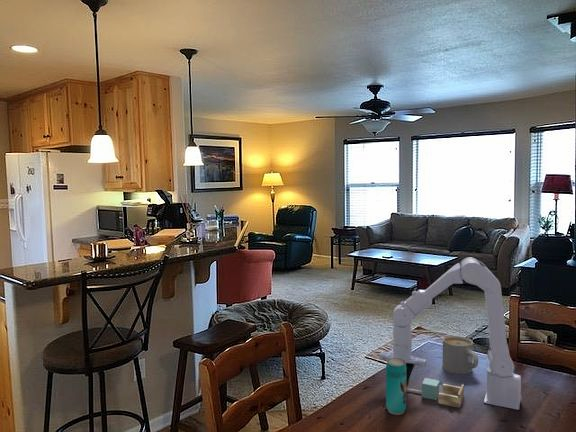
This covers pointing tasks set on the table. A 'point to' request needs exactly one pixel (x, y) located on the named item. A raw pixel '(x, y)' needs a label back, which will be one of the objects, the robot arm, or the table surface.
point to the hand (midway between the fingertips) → (402, 384)
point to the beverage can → (396, 386)
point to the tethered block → (428, 389)
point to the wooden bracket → (451, 395)
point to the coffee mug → (458, 355)
